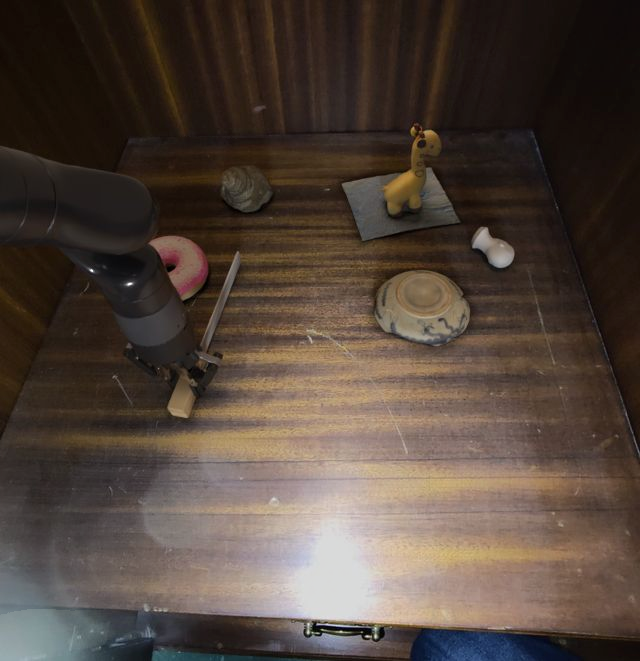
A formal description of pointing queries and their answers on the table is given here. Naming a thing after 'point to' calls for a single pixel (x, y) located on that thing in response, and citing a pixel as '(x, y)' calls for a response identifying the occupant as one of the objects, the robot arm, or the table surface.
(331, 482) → the table surface
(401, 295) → the decorative bowl
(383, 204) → the stuffed giraffe
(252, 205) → the seashell
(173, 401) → the knife
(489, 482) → the table surface
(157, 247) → the donut
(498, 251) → the smooth white sculpture
